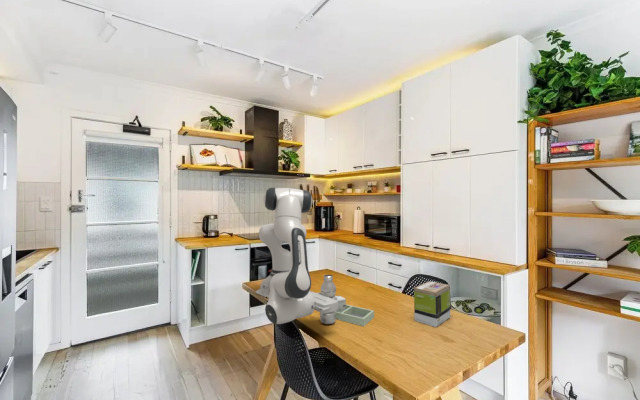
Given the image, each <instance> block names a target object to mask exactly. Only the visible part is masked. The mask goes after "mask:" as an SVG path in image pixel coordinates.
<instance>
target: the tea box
mask: <svg viewBox="0 0 640 400" xmlns="http://www.w3.org/2000/svg"><path fill="white" fill-rule="evenodd" d="M413 288H414V289H413V297H414V298H413V303H414V305H413V306H414V307H413V308H414V310H413V311H414V312H413V313H414V314H413V315H414V321H415V322H418V323H421V324H423V325H427V326H429V327H430V326H431V327H434V328H437V327H438V326H440V325H441V324H442V323H444V322H446V321H447V320H448V319H450V318H451V284H447V283H446V284H445V283H440V282H436V281H427V282H424V283H421V284H419V285H418V286H416V287H413Z"/></svg>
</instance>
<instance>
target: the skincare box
mask: <svg viewBox="0 0 640 400" xmlns="http://www.w3.org/2000/svg"><path fill="white" fill-rule="evenodd" d="M335 297H337V301H338V309H337V310H336V312H340V313H341V312H343V311H344V310H346V305H347V303H346V298H345V297H343V296H342V295H335Z"/></svg>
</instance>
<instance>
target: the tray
mask: <svg viewBox="0 0 640 400" xmlns="http://www.w3.org/2000/svg"><path fill="white" fill-rule="evenodd" d="M335 313H336V320H339V321H342V322H346V323H350V324H354V325H357V326H361V327H365V326H366V325H367V324H368V323H370V322H371V321H372V320H373V319H374V318H375V310H374V309H373V310H372V309H370V308H369V309H368V308H364V307H359V306H355V305H350V304H346V310H344V311H343V312H341V313H340V312H336V311H335ZM320 314H321V312H319V315H320Z"/></svg>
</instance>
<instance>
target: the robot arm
mask: <svg viewBox="0 0 640 400" xmlns="http://www.w3.org/2000/svg"><path fill="white" fill-rule="evenodd" d="M313 201H314V200H313V196H312V193H311V192H310V191H309V190H306V189H303V190H302V189H298V188H293V187H269V188H267V189H266V190H265V192H264V195H263V204H264V207H265V208H266V209H267V210H268V211H271V212H274V222H272V223H266V224H263V225H262V226H261V227H260V228H259V231H258V237H259V240H260V241H261V242H262V243H263V244H264V245H266V246H267V248H268V249H269V251H270V253H271V254H270V255H271V260H272V268H271V269H269V270H268V273H269V275H268V276H267V277H266V278H264V279H263V280H262V281H261V283H260V287H259V288H258V289H257V290H256V291H255V294H257V295H259V296H261V297H264V298H266V297H267V298H266V299H268V300H267V303H266V304H265V308H264V310H265V312H264V313H265V315H266V317H267V319H268V320H269V322H270V323H272V324H275V325H282V324H286V323H290V322H292V321H295V320H296V319H301V318H305V317H308V316H310V315H312V314H313V313H314V312H315V311H316V312H319V313H320V312H321V313H329V312H333V311H336V310H337V309H338V301H337V297H335V296H336V295H335V296H334V297H332V299H331V298H328V297H326V296H323V295H321V292H314V291H311V287H312V280H311V275H310V271H309V265H308V253H307V252H308V250H307V240H306V237H307V229H306V227H305V226H304V225H303V224H302V214H304V213H308V212H309V211H310V210H311V208H312V205H313ZM282 244H283V245H284V244H288V245H289V249H290V250H288V249H286V248H283V247H282Z"/></svg>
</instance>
